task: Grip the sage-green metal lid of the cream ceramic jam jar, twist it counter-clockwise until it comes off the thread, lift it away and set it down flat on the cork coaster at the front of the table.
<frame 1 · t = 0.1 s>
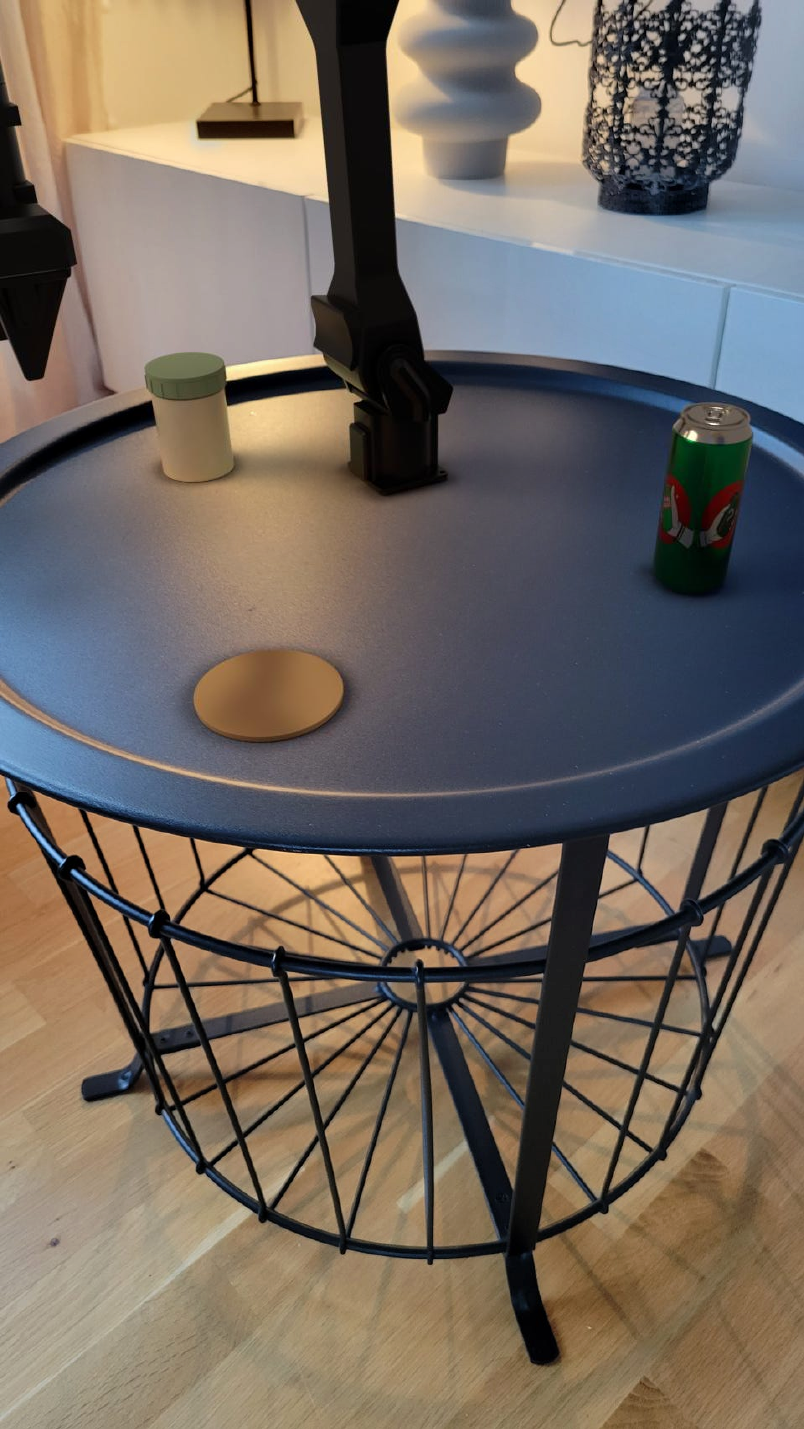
hand: (18, 358, 69), 15 cm above the table, tool pointing down, fingers open, 9 cm apart
lid: (185, 369, 85), point 8 cm above the table, screwed on, not yet turned
coaster: (269, 695, 64), on the table
soda can: (687, 582, 74), on the table
jar: (198, 467, 91), on the table
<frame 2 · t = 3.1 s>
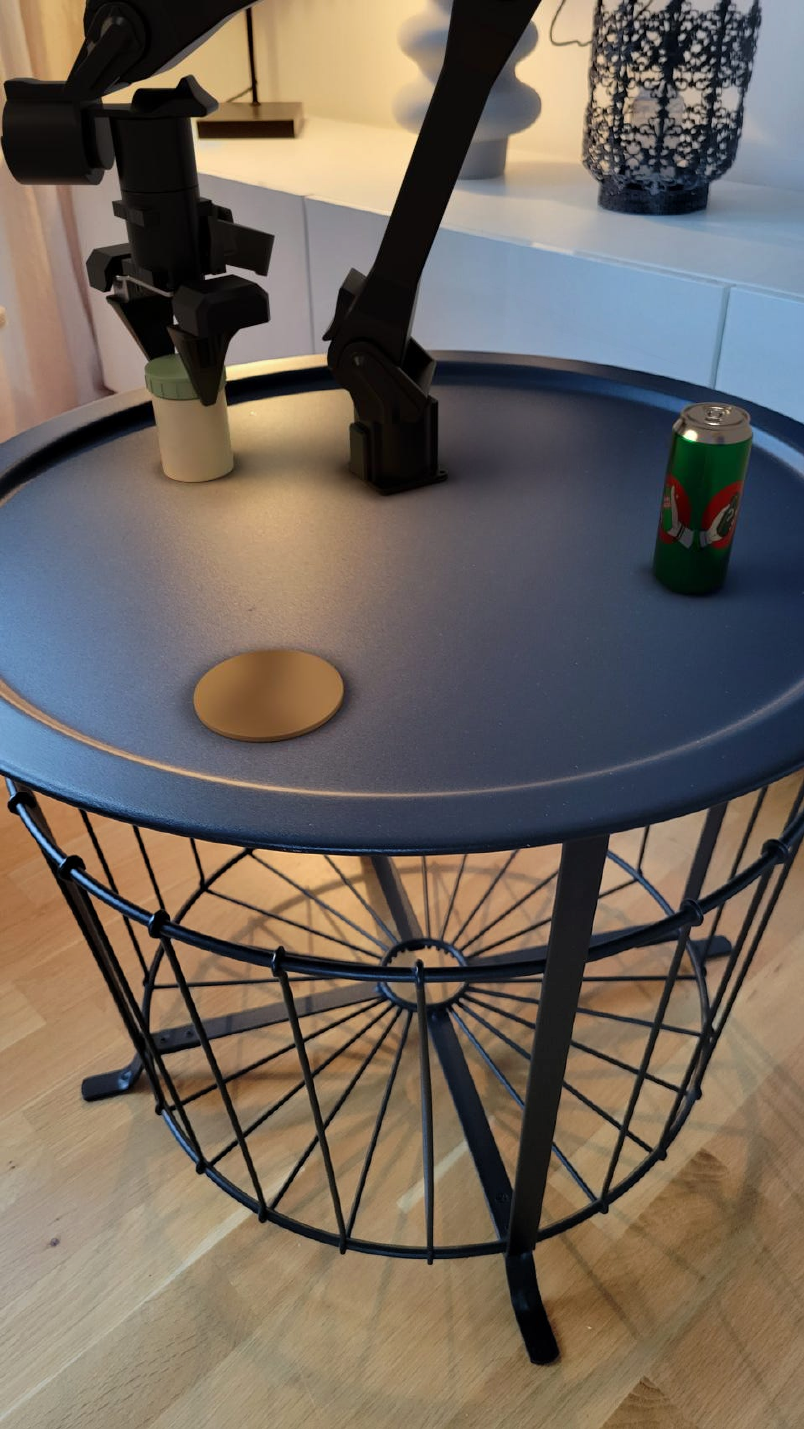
hand: (188, 394, 87), 6 cm above the table, tool pointing down, fingers closed on lid, 6 cm apart
lid: (185, 369, 85), point 8 cm above the table, screwed on, not yet turned, touching gripper
everything else where it was.
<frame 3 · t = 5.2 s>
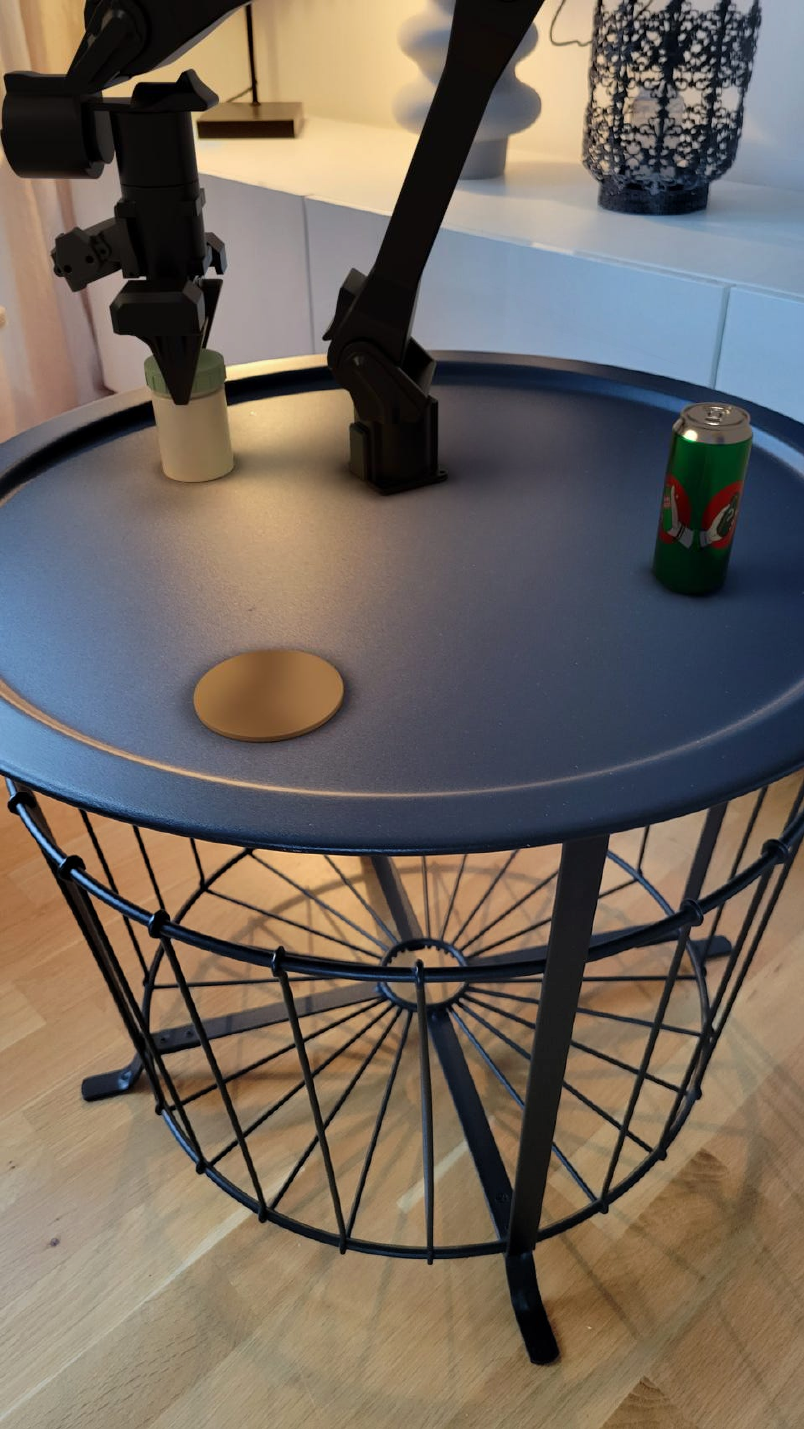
hand: (187, 389, 87), 7 cm above the table, tool pointing down, fingers closed on lid, 6 cm apart
lid: (184, 364, 85), point 9 cm above the table, turned 142° so far, risen 0.4 cm, still on its thread, touching gripper
everything else where it was.
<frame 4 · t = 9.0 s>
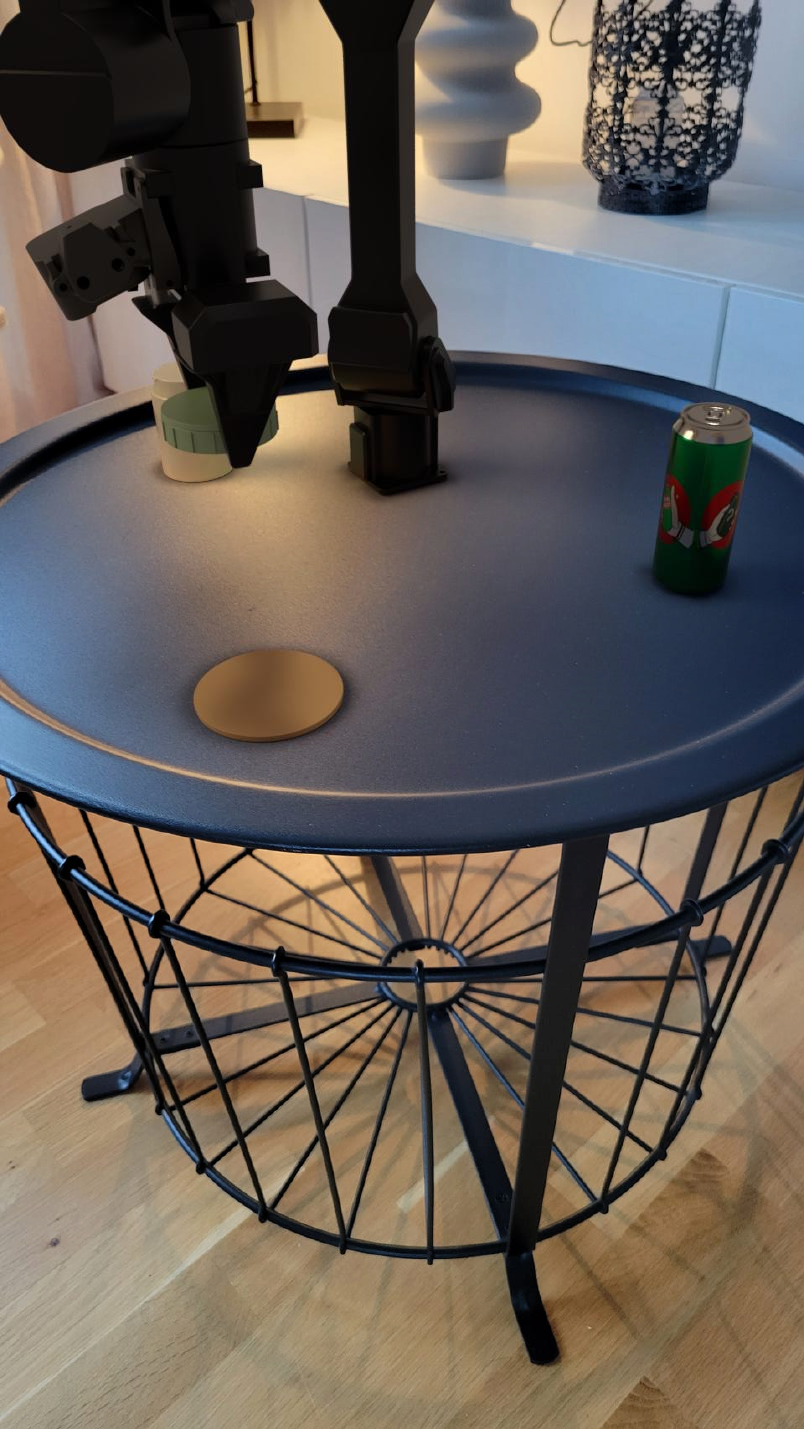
hand: (224, 445, 60), 13 cm above the table, tool pointing down, fingers closed on lid, 6 cm apart
lid: (219, 410, 59), point 15 cm above the table, off its thread, touching gripper
everything else where it was.
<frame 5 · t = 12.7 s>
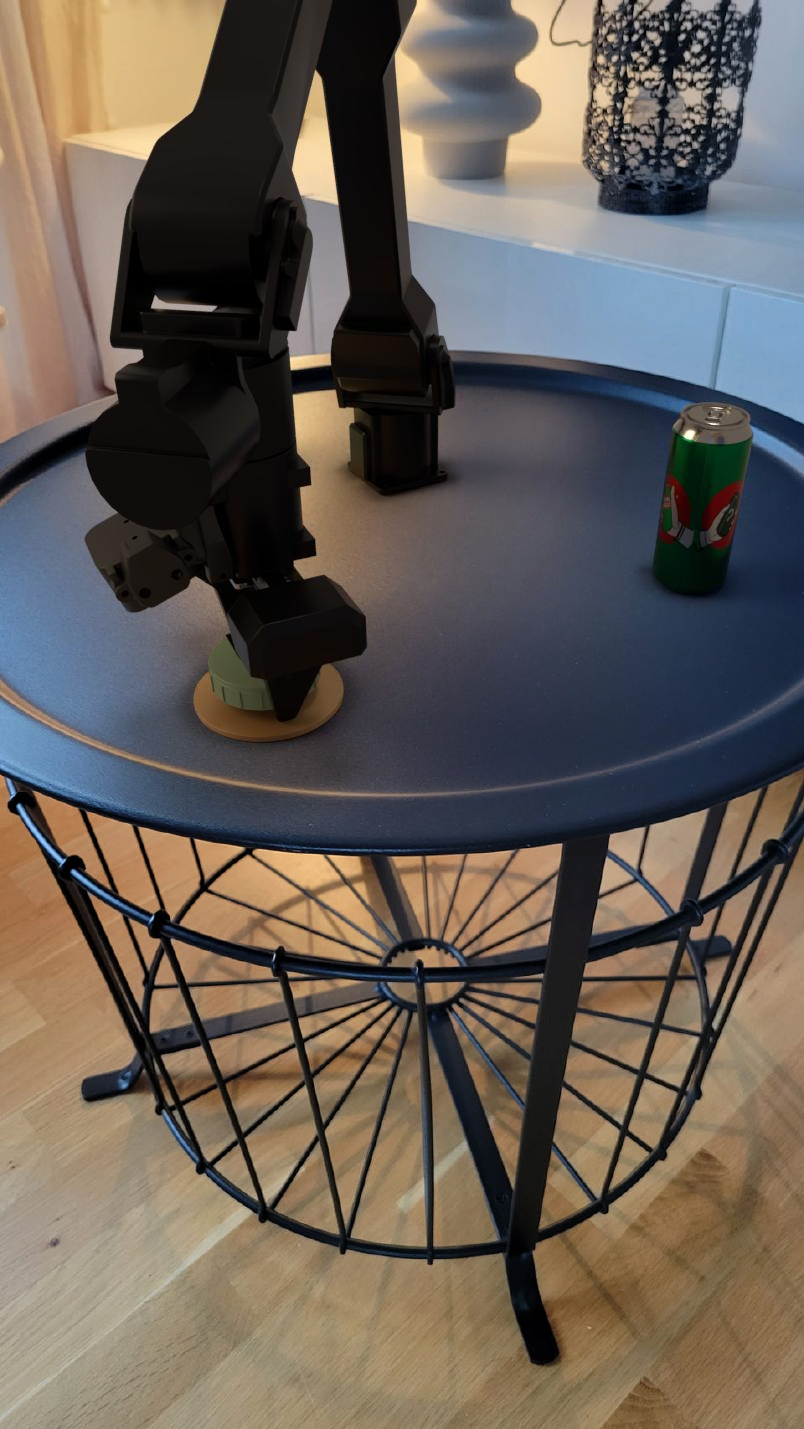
hand: (268, 688, 63), 1 cm above the table, tool pointing down, fingers closed on lid, 6 cm apart
lid: (263, 660, 62), point 3 cm above the table, off its thread, touching gripper
everything else where it was.
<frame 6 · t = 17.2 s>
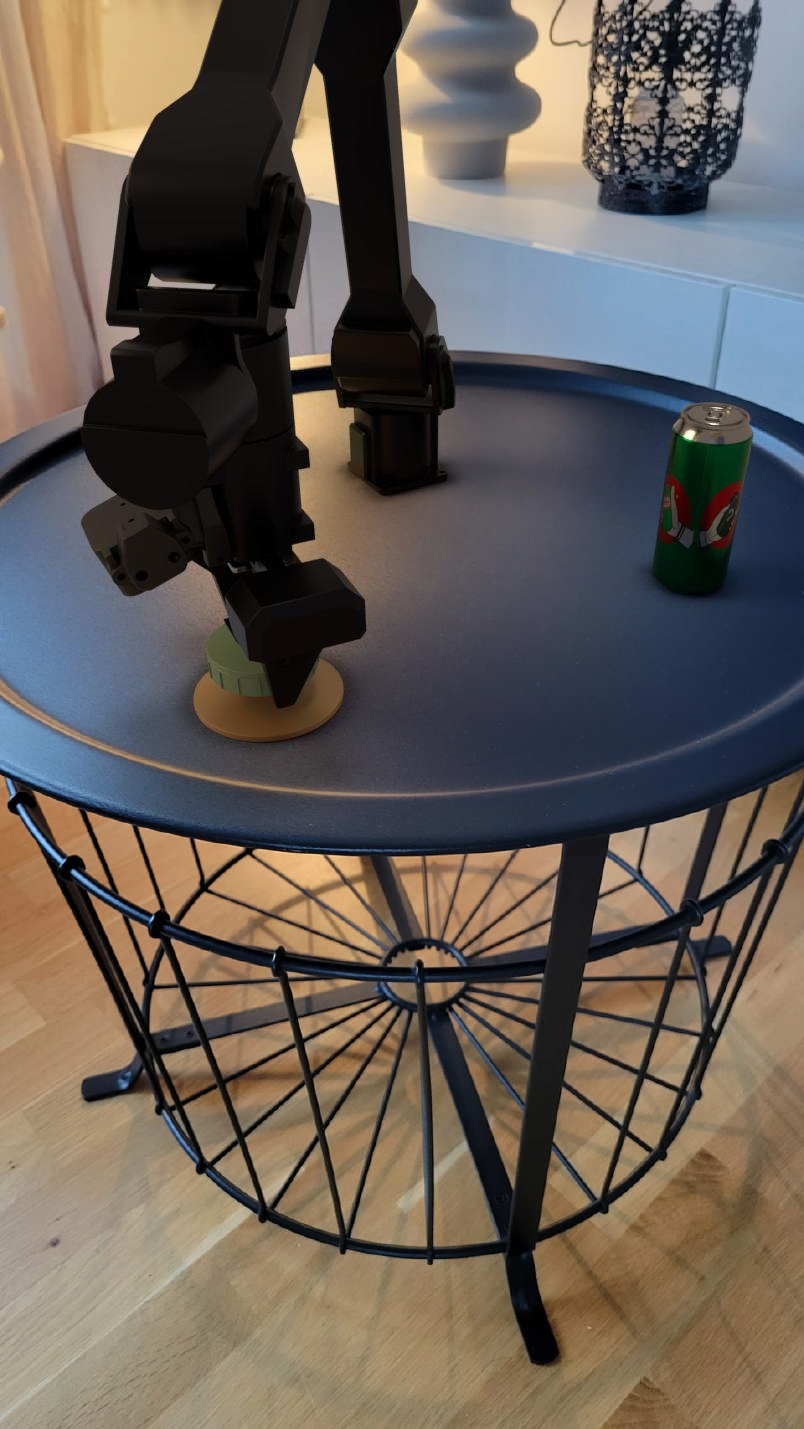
hand: (266, 675, 63), 2 cm above the table, tool pointing down, fingers closed on lid, 6 cm apart
lid: (262, 646, 61), point 4 cm above the table, off its thread, touching gripper
everything else where it was.
when the fingers open (1 cm above the table, at t = 21.2 s): lid drops 2 cm, resting on coaster.
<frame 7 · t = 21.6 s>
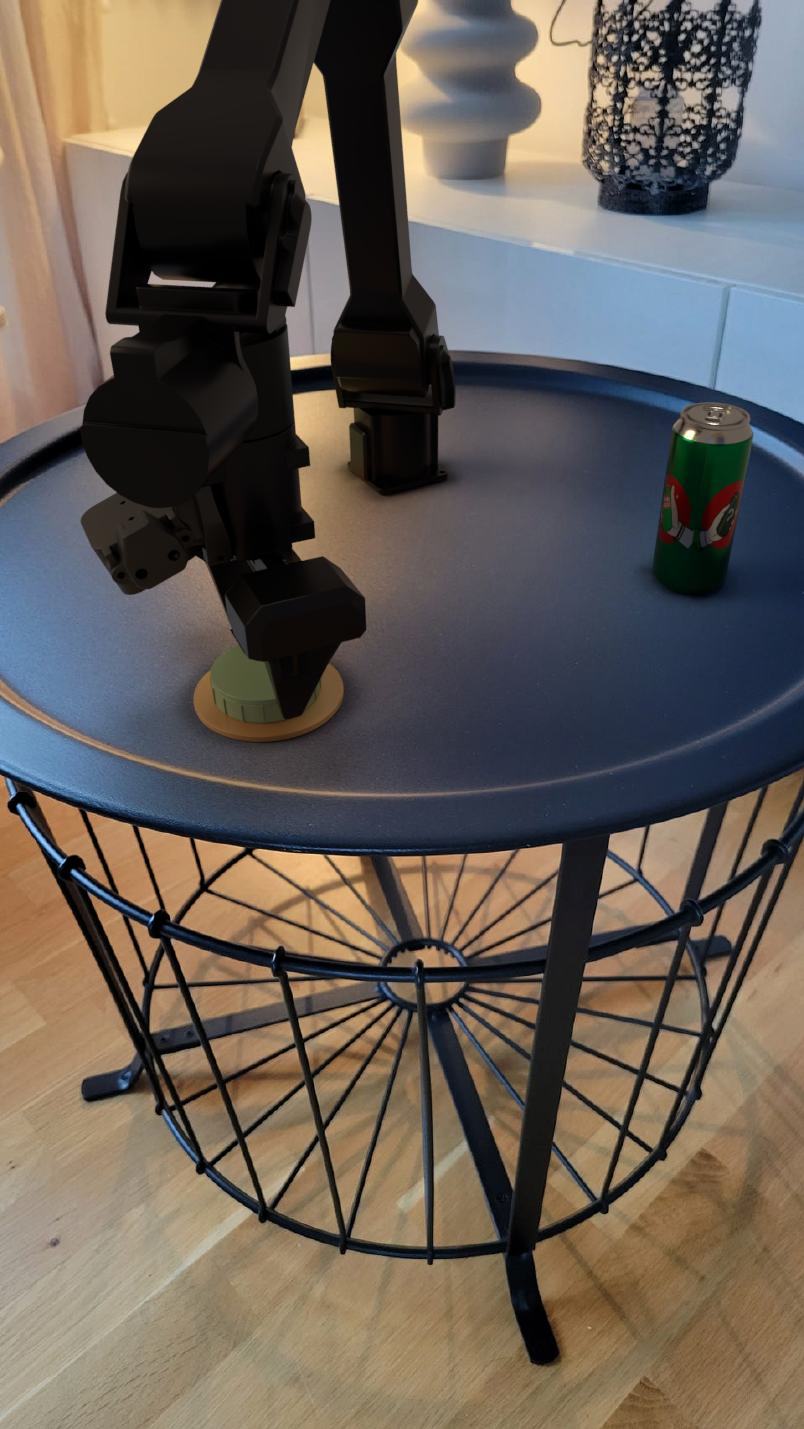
hand: (266, 674, 63), 2 cm above the table, tool pointing down, fingers open, 9 cm apart
lid: (265, 673, 63), point 2 cm above the table, off its thread, touching coaster
everything else where it was.
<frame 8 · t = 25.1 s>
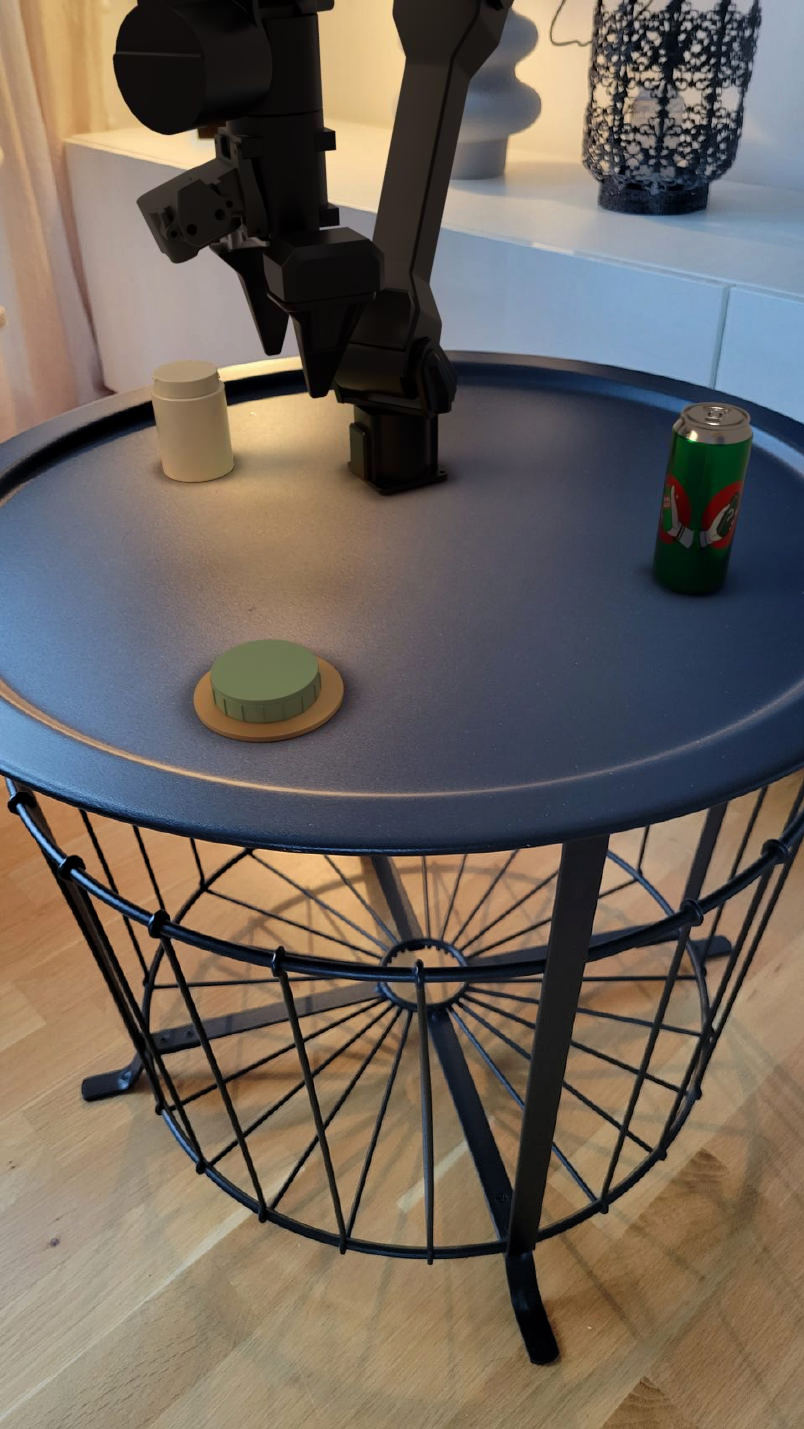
hand: (294, 375, 71), 13 cm above the table, tool pointing down, fingers open, 9 cm apart
nothing on the table moved.
at the end: lid inside the target area on the coaster (0.1 cm from its centre), point 1.7 cm above the coaster's base; lid point 1.7 cm above the table; the gripper is holding nothing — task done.
